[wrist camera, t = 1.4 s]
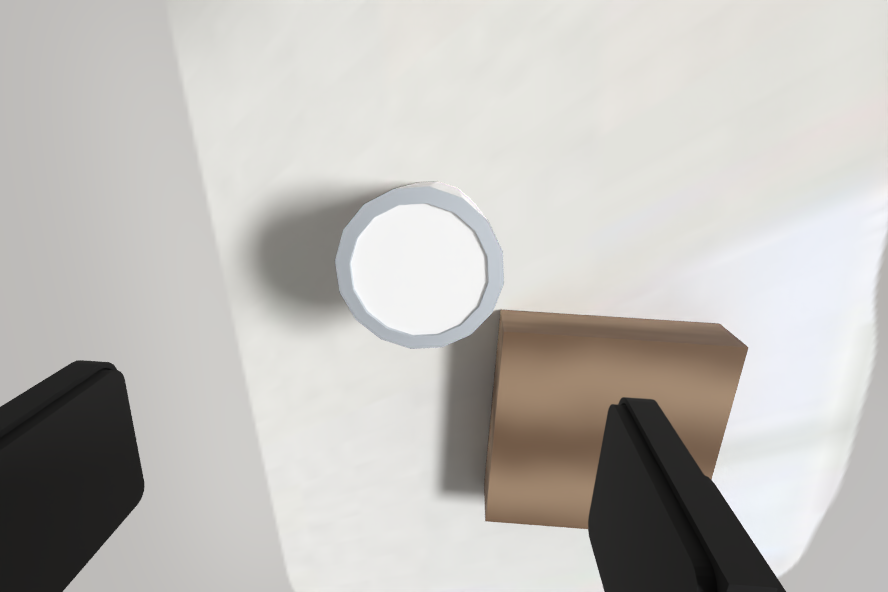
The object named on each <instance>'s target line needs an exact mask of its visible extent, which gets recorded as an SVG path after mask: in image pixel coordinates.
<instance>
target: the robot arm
mask: <svg viewBox="0 0 888 592" xmlns="http://www.w3.org/2000/svg"><path fill="white" fill-rule="evenodd" d="M143 492H144V479H143V474H142V468H141V463H140V458H139V453H138V447H137V442H136V437H135V431H134V427H133V421H132V416H131V410H130V405H129V400H128V395H127V389H126V384H125V379H124V376H123V374H122V373H121V372H120V371H118V370H117V369H116V367H115V366H114V365H113V364H111V363H109V362H96V361H75V362H73V363H71V364H69V365H68V366H66V367H64V368H63V369H61V370H59V371H58V372H56V373H55V374H53V375H51V376H50V377H48V378H46V379H45V380H43V381H42V382H40V383H38V384H37V385H35V386H34V387H32V388H30V389H29V390H27V391H26V392H24V393H22V394H21V395H19V396H17V397H16V398H14V399H12V400H11V401H9V402H8V403H6V404H4V405H3V406H1V407H0V592H63V590H64V589H65V588H66V587H67V586H68V585H69V584H70V582H71V581H72V580H73V579H74V578H75V577H76V575H77V574H78V573H79V572H80V571H81V570H82V568H83V567H84V566H85V565H86V563H88V561H89V560H90V559H91V558H92V557H93V556H94V554H95V553H96V552H97V551H98V550H99V549H100V547H101V546H102V545H103V544H104V543H105V542H106V540H107V539H108V538H109V537H110V536H111V535H112V534H113V532H114V531H115V530H116V529H117V528H118V526H119V525H120V524H121V523H122V522H123V521H124V519H125V518H126V517H127V516H128V515H129V514H130V513H131V511H132V510H133V509H134V508H135V507H136V506H137V504H138V503H139V501H140V500H141V498H142V495H143ZM588 531H589V537H590V541H591V545H592V549H593V552H594V556H595V559H596V563H597V566H598V570H599V573H600V577H601V581H602V584H603V588H604V591H605V592H786V591H785V589H784V588H783V586H782V585H781V583H780V582H779V580H778V579H777V577H776V576H775V574H774V573H773V571H772V570H771V568H770V567H769V565H768V564H767V562H766V561H765V559H764V558H763V556H762V555H761V553H760V552H759V550H758V549H757V547H756V546H755V544H754V543H753V541H752V540H751V538H750V537H749V535H748V534H747V532H746V531H745V529H744V528H743V526H742V525H741V523H740V522H739V520H738V519H737V517H736V515H735V514H734V512H733V511H732V509H731V508H730V506H729V505H728V503H727V502H726V500H725V499H724V497H723V496H722V494H721V493H720V491H719V490H718V488H717V487H716V485H715V484H714V483H713V482H712V480H711V479H710V478H709V477H707V476H705V475H704V474H703V472H702V471H701V469H700V468H699V466H698V465H697V463H696V462H695V460H694V459H693V457H692V455H691V454H690V452H689V451H688V449H687V448H686V446H685V445H684V443H683V442H682V440H681V439H680V437H679V435H678V434H677V432H676V431H675V429H674V428H673V426H672V425H671V423H670V422H669V420H668V419H667V417H666V416H665V414H664V412H663V411H662V409H661V408H660V406H659V405H658V403H657V402H656V401H655V400H654V399H643V398H628V397H622V398H621V399H620V401H619V403H618V405H617V404H611V405H610V407H609V409H608V414H607V419H606V425H605V430H604V435H603V441H602V446H601V452H600V457H599V463H598V468H597V474H596V479H595V484H594V490H593V495H592V501H591V506H590V512H589V518H588Z"/></svg>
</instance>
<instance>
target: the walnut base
mask: <svg viewBox="0 0 888 592" xmlns="http://www.w3.org/2000/svg"><path fill="white" fill-rule="evenodd" d="M747 350H748V347H747V346H746V345H745V344H744V343H742V342H741V341H740V340H739V339H738V338H736V337H735V336H734V335H733V334H732V333H730V332H729V331H728V330H727V329H725V328H724V327H723V326H722V325H721V324H715V323H699V322H684V321H668V320H652V319H637V318H621V317H606V316H590V315H574V314H559V313H543V312H527V311H512V310H501V311H500V322H499V332H498V343H497V354H496V364H495V375H494V386H493V396H492V407H491V418H490V428H489V439H488V450H487V460H486V471H485V482H484V495H485V521H490V522H503V523H516V524H529V525H542V526H555V527H568V528H581V529H588V518H589V512H590V506H591V501H592V495H593V490H594V484H595V479H596V474H597V468H598V463H599V457H600V452H601V446H602V441H603V435H604V430H605V425H606V419H607V414H608V409H609V407H610V405H611V404H617V405H618V403H619V401H620V399H621V398H622V397H628V398H643V399H654V400H655V401H656V402H657V403H658V405H659V406H660V408H661V409H662V411H663V412H664V414H665V416H666V417H667V419H668V420H669V422H670V423H671V425H672V426H673V428H674V429H675V431H676V432H677V434H678V435H679V437H680V439H681V440H682V442H683V443H684V445H685V446H686V448H687V449H688V451H689V452H690V454H691V455H692V457H693V459H694V460H695V462H696V463H697V465H698V466H699V468H700V469H701V471H702V472H703V474H704V475H705V476H707V477H709V478H710V479H712V475H713V472H714V468H715V465H716V461H717V457H718V454H719V450H720V447H721V443H722V440H723V436H724V433H725V429H726V425H727V422H728V418H729V415H730V411H731V408H732V404H733V400H734V397H735V393H736V390H737V386H738V383H739V379H740V375H741V372H742V368H743V365H744V361H745V358H746V354H747Z"/></svg>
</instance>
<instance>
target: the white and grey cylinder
mask: <svg viewBox="0 0 888 592" xmlns="http://www.w3.org/2000/svg"><path fill="white" fill-rule="evenodd" d="M335 264H336V271H337V278H338V284H339V291H340V294H341V295H342V297H343V299H344V300H345V302H346V304H347V305H348V307H349V309H350V310H351V312H352V314H353V315H354V317H355V319H356V320H357V321H358V322H360V323H361V324H362V325H364V326H365V327H366V328H367V329H369V330H370V331H371V332H372V333H374V334H375V335H376V336H378V337H379V338H380V339H382V340H385V341H388V342H392V343H395V344H398V345H401V346H404V347H407V348H410V349H415V348H438V347H444V346H446V345H449V344H451V343H453V342H455V341H458V340H460V339H462V338H465V337H467V336H469V335H471V334H472V333H473V332H474V331H475V330H476V329H477V328H478V327H479V326H480V325H481V324H482V323H483V322H484V321H485V320H486V319H487V318H488V317H489V316H490V315H491V314H492V312H493V310H494V307H495V305H496V302H497V300H498V297H499V295H500V292H501V290H502V287H503V285H504V271H503V251H502V248H501V246H500V244H499V242H498V240H497V238H496V236H495V234H494V232H493V229H492V227H491V225H490V223H489V221H488V220H487V218H486V217H485V216H484V214H483V213H482V212H481V210H480V209H479V208H478V206H477V205H476V204H475V203H474V202H473V201H472V200H471V199H470V198H469V197H468V196H467V195H466V194H464V193H463V192H462V191H461V190H460V189H459V188H457V187H454V186H451V185H448V184H445V183H442V182H439V181H433V182H418V183H414V184H410V185H406V186H402V187H399V188H395V189H393V190H391V191H389V192H387V193H385V194H383V195H381V196H379V197H377V198H375V199H373V200H371V201H369V202H367V203H365V204H364V205H363V206H362V207H361V208H360V210H359V211H358V212H357V213H356V215H355V216H354V217H353V218H352V220H351V221H350V222H349V223H348V225H347V226H346V227H345V228H344V229H343V233H342V236H341V240H340V244H339V248H338V251H337V255H336V259H335Z"/></svg>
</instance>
